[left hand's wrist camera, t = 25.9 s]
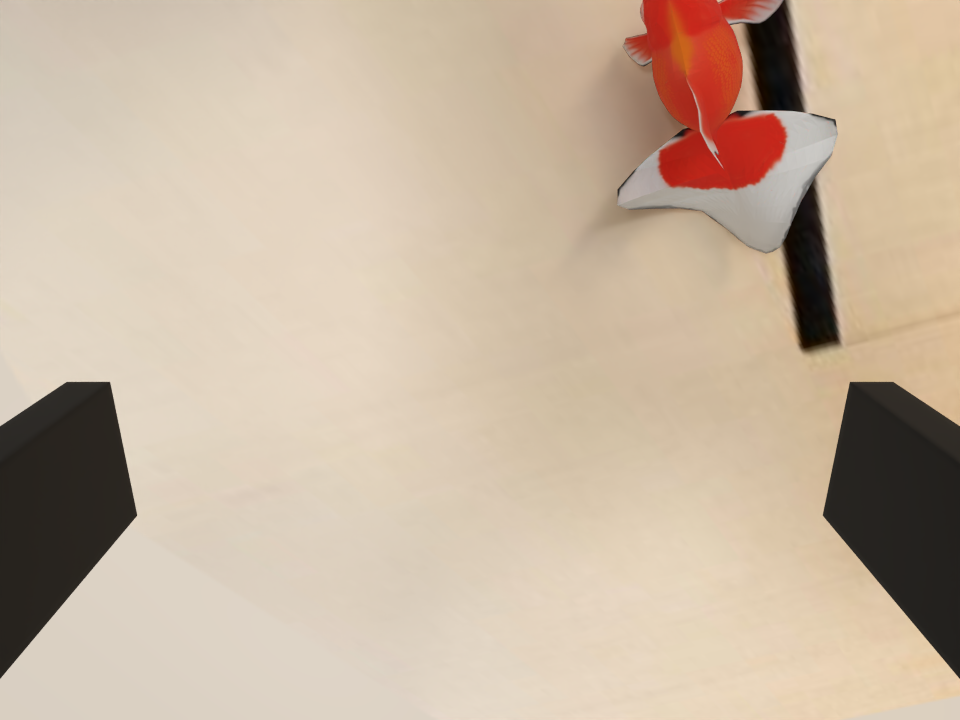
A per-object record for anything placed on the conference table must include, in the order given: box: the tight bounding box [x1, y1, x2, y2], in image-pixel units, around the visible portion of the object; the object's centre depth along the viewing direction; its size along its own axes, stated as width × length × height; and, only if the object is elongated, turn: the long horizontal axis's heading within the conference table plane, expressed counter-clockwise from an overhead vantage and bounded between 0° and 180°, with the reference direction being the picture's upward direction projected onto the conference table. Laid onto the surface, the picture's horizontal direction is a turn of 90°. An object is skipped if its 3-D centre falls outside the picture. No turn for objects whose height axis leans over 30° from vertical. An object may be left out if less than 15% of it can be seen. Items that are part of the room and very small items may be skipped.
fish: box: [618, 0, 838, 253], centre depth 35 cm, size 11×16×10 cm
